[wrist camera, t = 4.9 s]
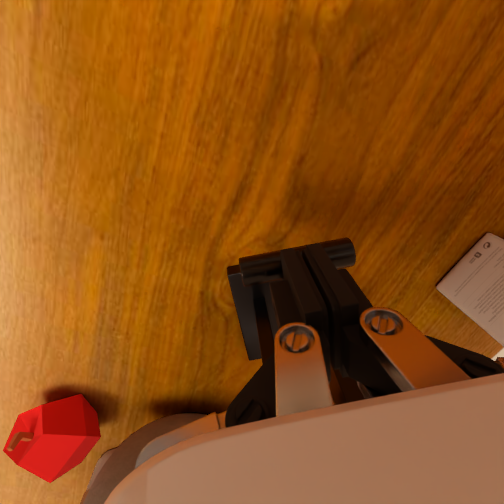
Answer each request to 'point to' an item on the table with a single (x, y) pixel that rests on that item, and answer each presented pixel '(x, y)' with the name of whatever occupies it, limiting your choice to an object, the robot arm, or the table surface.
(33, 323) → the table surface
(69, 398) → the apple
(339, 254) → the lever
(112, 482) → the planter
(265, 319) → the bracket
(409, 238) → the table surface
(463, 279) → the cosmetic box
